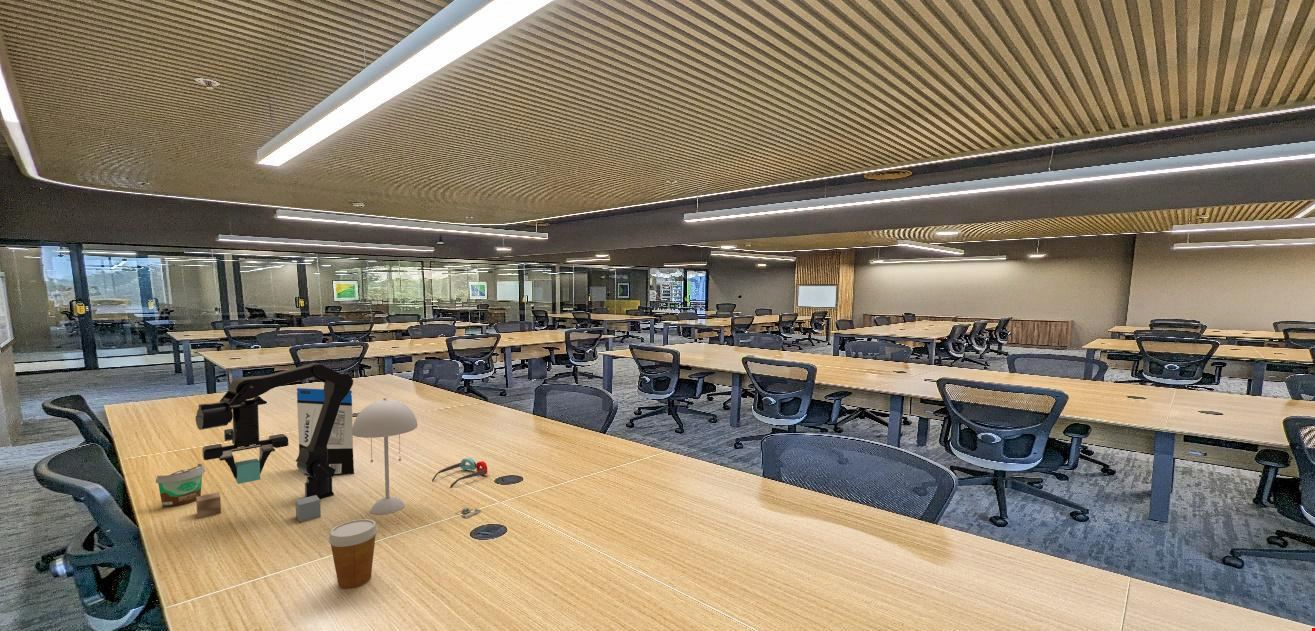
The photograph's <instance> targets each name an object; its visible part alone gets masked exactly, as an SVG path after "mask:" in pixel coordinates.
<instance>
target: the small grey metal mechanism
mask: <svg viewBox="0 0 1315 631" xmlns="http://www.w3.org/2000/svg"><path fill="white" fill-rule="evenodd" d="M471 511H473V512H471ZM482 512H483V511H482V510H481V509H480V508H479V509H478V508H475V509H472V508H468V507H463V508H462V510H460V511H458V512H455V513H454V514H455V515H457V516H460V517H461V518H462V519H468V518H472V517H474V516H476V515H478V514H481V513H482ZM458 513H462V514H458ZM466 514H467V515H466Z"/></svg>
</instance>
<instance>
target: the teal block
mask: <svg viewBox="0 0 1315 631" xmlns="http://www.w3.org/2000/svg"><path fill="white" fill-rule="evenodd" d="M235 467H236V472H237V479H235V481H236V483H237V485H241V484H245V483H251V482H255V481H259V480H261V474H260V462H259V458H257V457H256V458H251V459H246V460H241V461H236V462H235Z"/></svg>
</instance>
